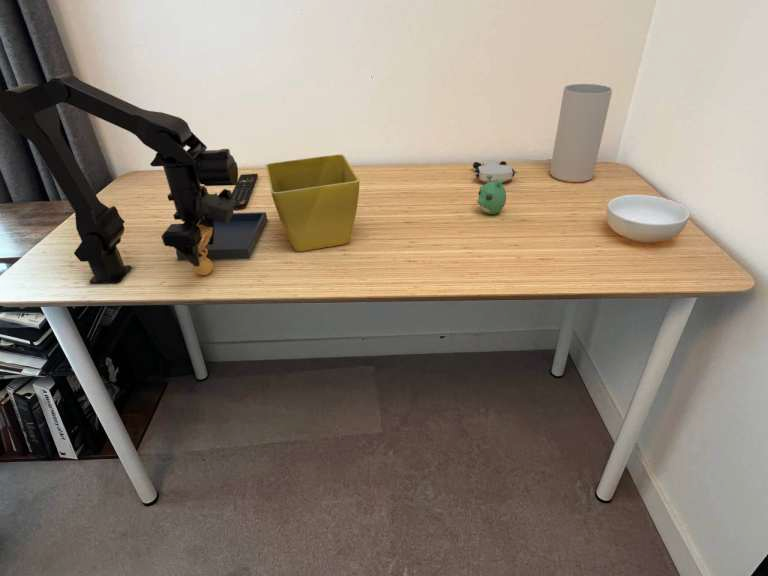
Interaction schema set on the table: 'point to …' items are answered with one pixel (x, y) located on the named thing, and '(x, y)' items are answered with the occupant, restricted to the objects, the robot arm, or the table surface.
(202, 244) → the figurine
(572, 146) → the cylinder vase
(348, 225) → the flower pot
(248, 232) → the tray
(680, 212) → the cereal bowl
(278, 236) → the table surface
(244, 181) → the remote control
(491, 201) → the alien toy
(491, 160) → the robot toy
